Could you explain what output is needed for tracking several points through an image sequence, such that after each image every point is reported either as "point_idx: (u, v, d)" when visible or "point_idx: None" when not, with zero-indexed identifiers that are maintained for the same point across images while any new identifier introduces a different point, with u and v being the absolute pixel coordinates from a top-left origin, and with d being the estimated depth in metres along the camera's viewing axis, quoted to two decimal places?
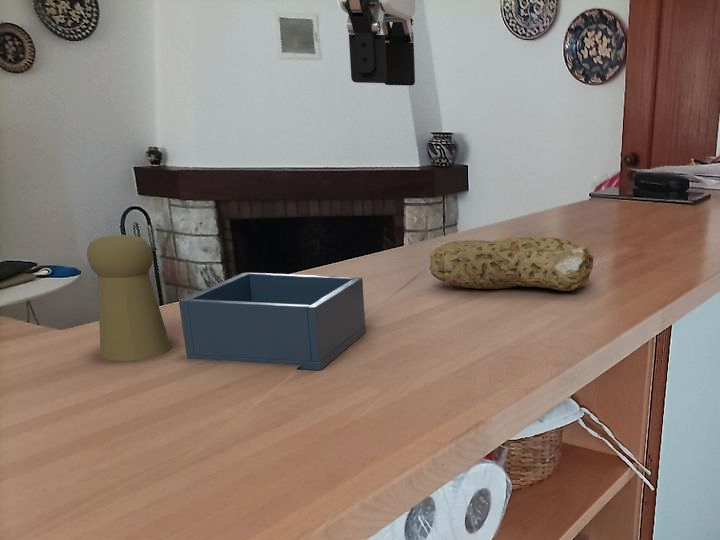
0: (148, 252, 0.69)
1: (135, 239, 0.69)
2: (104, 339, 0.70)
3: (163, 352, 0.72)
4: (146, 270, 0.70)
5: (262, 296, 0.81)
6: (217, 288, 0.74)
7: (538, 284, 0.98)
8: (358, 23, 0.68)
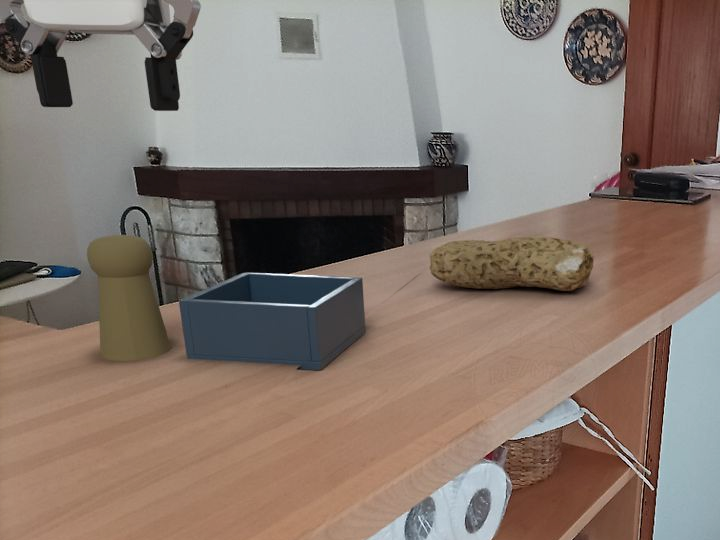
0: (148, 252, 0.69)
1: (135, 239, 0.69)
2: (104, 339, 0.70)
3: (163, 352, 0.72)
4: (146, 270, 0.70)
5: (262, 296, 0.81)
6: (217, 288, 0.74)
7: (538, 284, 0.98)
8: None
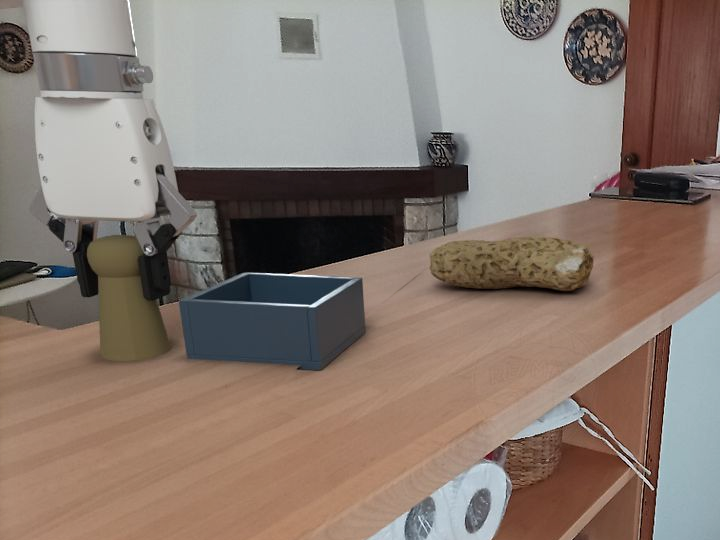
0: None
1: (135, 239, 0.69)
2: (104, 339, 0.70)
3: (163, 352, 0.72)
4: None
5: (262, 296, 0.81)
6: (217, 288, 0.74)
7: (538, 284, 0.98)
8: None
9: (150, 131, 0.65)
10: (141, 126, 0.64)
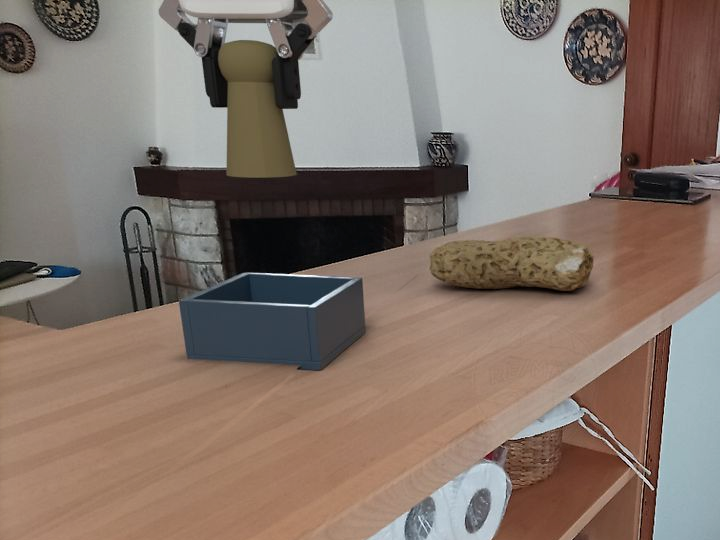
0: None
1: (267, 43, 0.66)
2: (233, 150, 0.67)
3: (290, 169, 0.70)
4: None
5: (262, 296, 0.81)
6: (217, 288, 0.74)
7: (538, 284, 0.98)
8: None
9: None
10: None
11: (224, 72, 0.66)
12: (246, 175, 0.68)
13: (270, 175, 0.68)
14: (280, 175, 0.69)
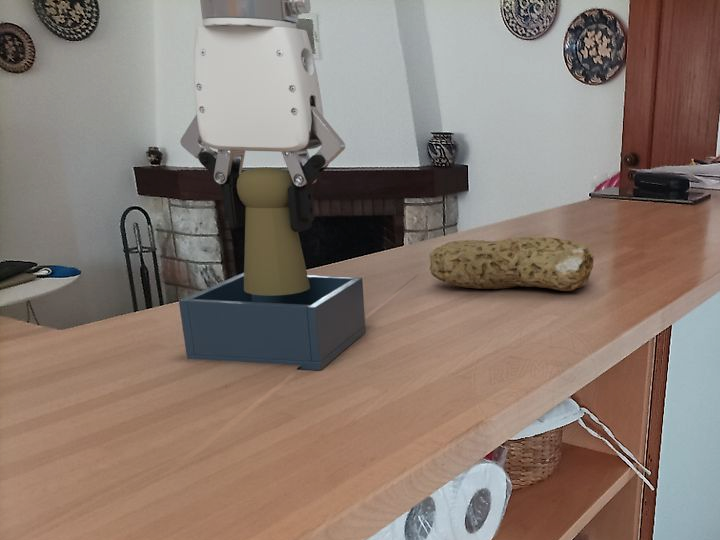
0: None
1: (283, 171, 0.70)
2: (251, 270, 0.71)
3: (304, 285, 0.73)
4: None
5: (262, 296, 0.81)
6: (217, 288, 0.74)
7: (538, 284, 0.98)
8: None
9: (305, 62, 0.67)
10: (299, 55, 0.65)
11: (242, 199, 0.70)
12: (263, 293, 0.71)
13: (285, 293, 0.72)
14: (295, 292, 0.72)
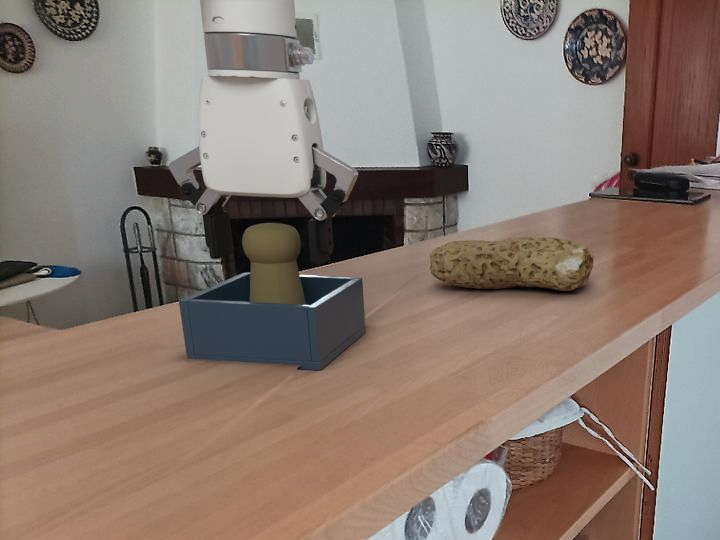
0: (298, 239, 0.73)
1: (287, 227, 0.72)
2: None
3: None
4: (296, 257, 0.73)
5: None
6: (217, 288, 0.74)
7: (538, 284, 0.98)
8: None
9: (307, 111, 0.68)
10: (302, 105, 0.67)
11: (248, 255, 0.71)
12: None
13: None
14: None
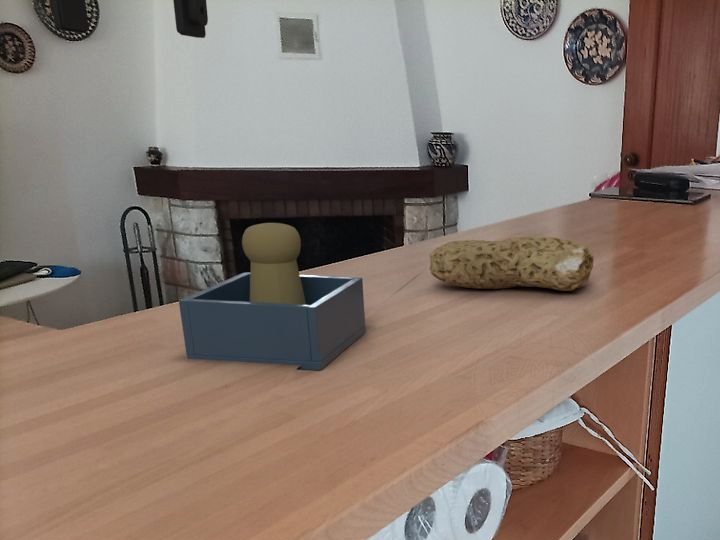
0: (298, 239, 0.73)
1: (287, 227, 0.72)
2: None
3: None
4: (296, 257, 0.73)
5: None
6: (217, 288, 0.74)
7: (538, 284, 0.98)
8: None
9: None
10: None
11: (248, 255, 0.71)
12: None
13: None
14: None
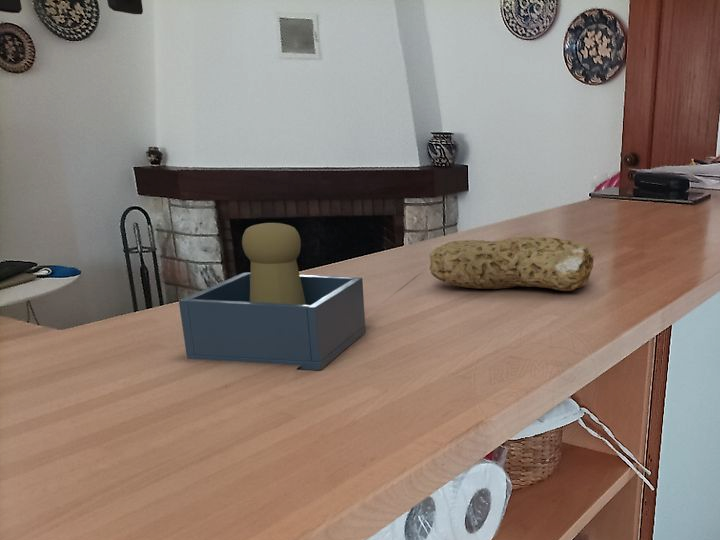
0: (298, 239, 0.73)
1: (287, 227, 0.72)
2: None
3: None
4: (296, 257, 0.73)
5: None
6: (217, 288, 0.74)
7: (538, 284, 0.98)
8: None
9: None
10: None
11: (248, 255, 0.71)
12: None
13: None
14: None
